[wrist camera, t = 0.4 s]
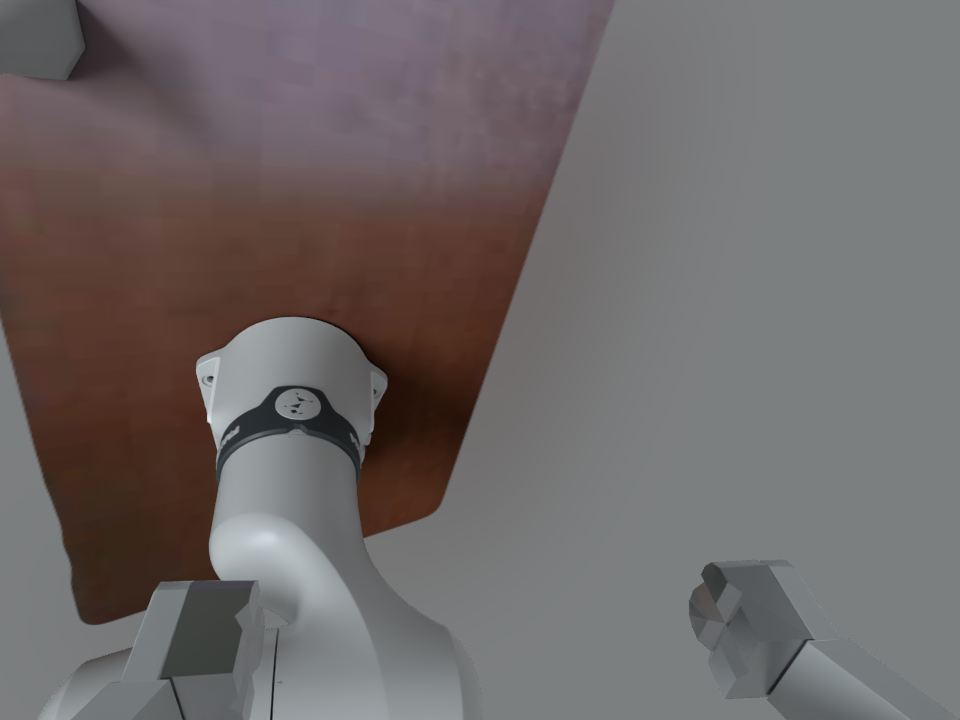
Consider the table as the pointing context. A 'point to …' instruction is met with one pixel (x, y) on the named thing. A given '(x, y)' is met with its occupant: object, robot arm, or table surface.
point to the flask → (40, 38)
